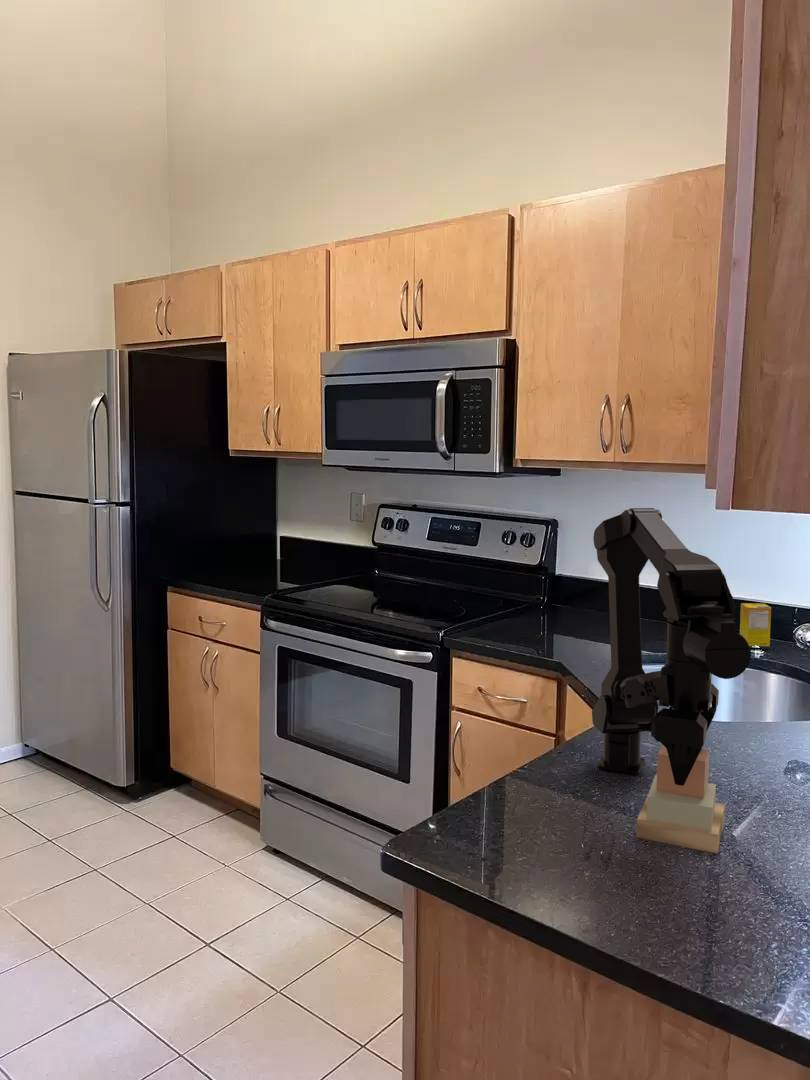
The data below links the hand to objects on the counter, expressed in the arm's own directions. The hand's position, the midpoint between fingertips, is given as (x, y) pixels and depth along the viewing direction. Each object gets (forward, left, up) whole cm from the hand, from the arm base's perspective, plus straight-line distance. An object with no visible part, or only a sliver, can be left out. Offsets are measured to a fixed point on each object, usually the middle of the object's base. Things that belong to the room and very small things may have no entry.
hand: (684, 772), depth 109 cm
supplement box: (-115, +2, -8) cm, 115 cm away
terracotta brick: (-1, 0, -3) cm, 3 cm away
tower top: (0, 0, -6) cm, 6 cm away
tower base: (0, 0, -9) cm, 9 cm away
